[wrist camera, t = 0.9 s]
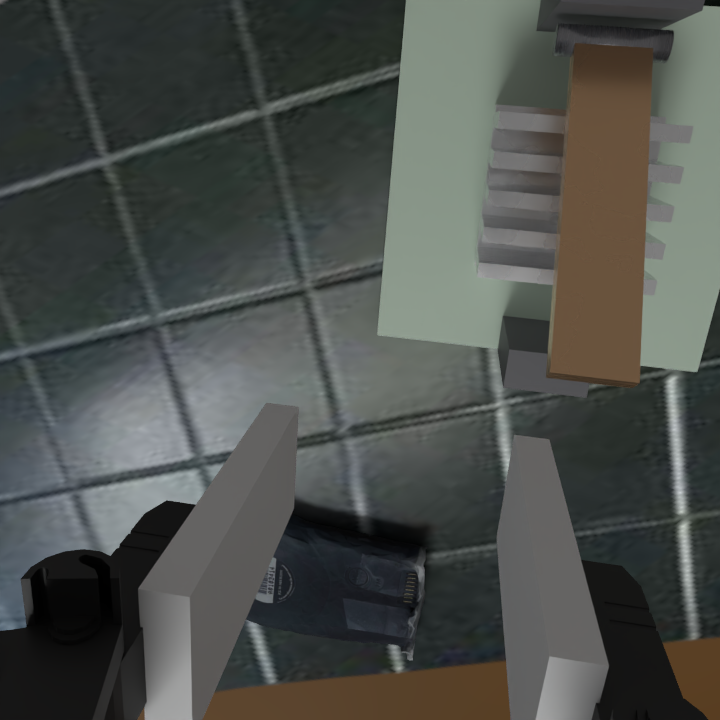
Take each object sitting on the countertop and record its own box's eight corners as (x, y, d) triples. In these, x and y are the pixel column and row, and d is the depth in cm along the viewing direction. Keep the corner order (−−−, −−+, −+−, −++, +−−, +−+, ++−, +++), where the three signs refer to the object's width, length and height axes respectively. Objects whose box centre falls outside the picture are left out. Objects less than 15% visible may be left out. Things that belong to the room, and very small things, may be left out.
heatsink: (474, 259, 37) (476, 284, 31) (495, 104, 34) (500, 102, 29) (623, 274, 36) (652, 303, 31) (657, 117, 33) (695, 117, 28)
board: (379, 328, 40) (354, 392, 31) (409, -7, 34) (388, -54, 25) (690, 364, 38) (762, 443, 29) (782, 14, 32) (913, -28, 23)
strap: (524, 376, 24) (530, 368, 23) (553, 38, 28) (559, 16, 27) (650, 391, 24) (662, 384, 23) (663, 45, 27) (674, 23, 26)
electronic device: (428, 509, 46) (210, 492, 46) (435, 570, 41) (191, 551, 41) (411, 604, 51) (212, 589, 50) (415, 668, 46) (195, 653, 45)
